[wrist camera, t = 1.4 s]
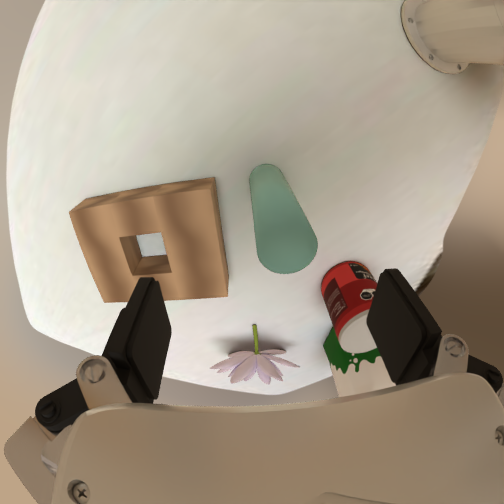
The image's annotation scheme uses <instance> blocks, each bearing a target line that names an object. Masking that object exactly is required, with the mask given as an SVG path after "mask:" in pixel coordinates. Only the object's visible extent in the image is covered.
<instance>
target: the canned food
mask: <svg viewBox="0 0 504 504" xmlns="http://www.w3.org/2000/svg"><path fill="white" fill-rule="evenodd" d="M376 287H377V282H376V280H375V279H374V277H373V276H372V274H371V273H370V271H369V270H368V269H367V268H366V267H365V266H364V265H362V264H360V263H358V262H353V261H349V262H344V263H341V264H338V265H336V266H335V267H333V268H332V269H331V270H329V271H328V273H327V274H326V275H325V277H324V278H323V281H322V288H321V291H322V296H323V298H324V301H325V304H326V307H327V310H328V312H329V315H330V318H331V321H332V324H333V327H334V330H335V333H336V336H337V338H338V341H339V343H340V345H341V347H342V349H343V350H345V351H347V352H350V353H363V352H367V351H370V350H373V349H375V348H377V346H376V344H375V342H374V339H373V337H372V335H371V333H370V331H369V329H368V326H367V323H366V319H367V315H368V312H369V309H370V306H371V303H372V300H373V297H374V294H375V290H376Z"/></svg>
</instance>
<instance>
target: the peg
mask: <svg viewBox="0 0 504 504" xmlns="http://www.w3.org/2000/svg"><path fill="white" fill-rule="evenodd" d="M250 191H251V200H252V210H253V219H254V229H255V238H256V248H257V255H258V258H259V260H260V262H261V263H262V264H263V265H264V266H265V267H266V268H267V269H269V270H270V271H273V272H275V273H280V274H290V273H294V272H297V271H300V270H302V269H303V268H305V267H306V266H307V265H309V264H310V263H311V261H312V260H313V259H314V257H315V255H316V252H317V247H318V242H317V238H316V235H315V233H314V231H313V229H312V227H311V225H310V224H309V222H308V220H307V218H306V216H305V214H304V212H303V210H302V208H301V207H300V205H299V203H298V201H297V199H296V197H295V196H294V194H293V192H292V190H291V188H290V187H289V185H288V183H287V181H286V180H285V178H284V176H283V174H282V173H281V171H280V170H279V169H278V168H277V167H276V166H274V165H270V164H263V165H260V166H258V167H256V168H255V169H254V170H253V171H252V173H251V175H250Z"/></svg>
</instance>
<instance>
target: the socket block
mask: <svg viewBox="0 0 504 504" xmlns="http://www.w3.org/2000/svg"><path fill="white" fill-rule="evenodd" d="M69 214H70V218H71V221H72V224H73V227H74V230H75V233H76V235H77V238H78V241H79V244H80V246H81V249H82V252H83V254H84V257H85V259H86V262H87V264H88V267H89V269H90V272H91V274H92V276H93V279H94V281H95V283H96V286H97V288H98V290H99V292H100V294H101V297H102V299H103V301H104V303H110V302H128V301H129V299H130V297H131V295H132V293H133V290H134V288H135V286H136V284H137V282H138V280H139V278H140V277H153V278H154V279H155V281H159V284H160V288H161V292H162V296H163V299H164V301H166V300H185V299H201V298H216V297H228V281H229V274H228V268H227V261H226V255H225V248H224V241H223V235H222V228H221V221H220V214H219V207H218V199H217V192H216V185H215V177H213V178H205V179H197V180H189V181H182V182H175V183H168V184H162V185H155V186H149V187H143V188H138V189H132V190H127V191H121V192H116V193H111V194H106V195H101V196H97V197H92V198H88V199H85V200H83V201H82V202H81V203H80V204H78V205H77V206H76V207H75V208H73V209H72V210H71V211H70V212H69ZM158 232H161V233H162V237H163V241H164V245H165V249H166V253H167V255H160V256H149V257H142V255H141V252H140V249H139V245H138V242H137V239H136V235H142V234H150V233H158Z"/></svg>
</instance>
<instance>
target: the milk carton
mask: <svg viewBox="0 0 504 504" xmlns="http://www.w3.org/2000/svg"><path fill="white" fill-rule="evenodd" d="M323 347H324V349H325V352H326V355H327V357H328V360H329V363H330V366H331V370H332V374H333V377H334V380H335V384H336V388H337V392H338V396H339V397H344V396H350V395H355V394H361V393H366V392H371V391H375V390H380V389H384V388H389V387H393V386H396V384H395V383H393V382H392V381H391V379H390V376H389V374H388V372H387V369H386V367H385V364H384V362H383V360H382V357H381V355H380V353H379V351H378V348H375V349H373V350H370V351H367V352H363V353H350V352H347V351H345V350H343V349H342V347H341V345H340V343H339V341H338V338H337V336H336V333H335V330H334V327H333V328H332V330H331V332H330V333H329V335H328V337H327V339H326V341H325V343H324V345H323Z"/></svg>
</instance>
